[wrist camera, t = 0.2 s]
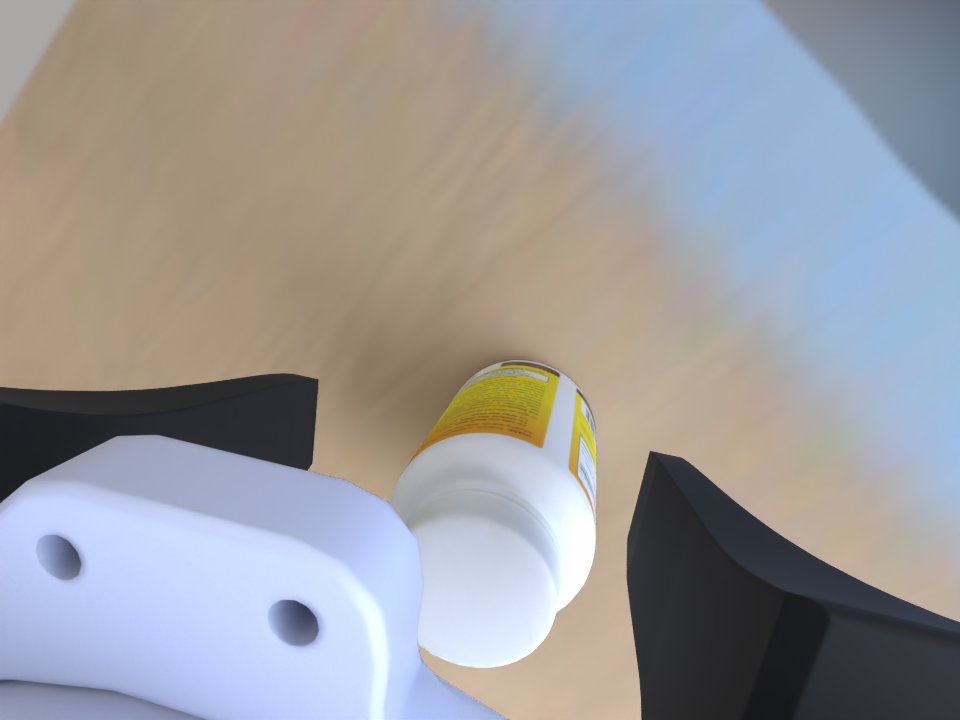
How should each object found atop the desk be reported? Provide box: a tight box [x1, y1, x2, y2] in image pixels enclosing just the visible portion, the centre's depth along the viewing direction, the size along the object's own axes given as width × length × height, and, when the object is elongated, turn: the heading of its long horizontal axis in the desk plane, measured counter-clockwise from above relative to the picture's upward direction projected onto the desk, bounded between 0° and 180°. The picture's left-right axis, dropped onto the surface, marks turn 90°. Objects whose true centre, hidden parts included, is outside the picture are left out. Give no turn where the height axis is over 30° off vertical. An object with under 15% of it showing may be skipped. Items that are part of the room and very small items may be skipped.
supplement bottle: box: [389, 360, 596, 668], centre depth 18 cm, size 6×6×10 cm
